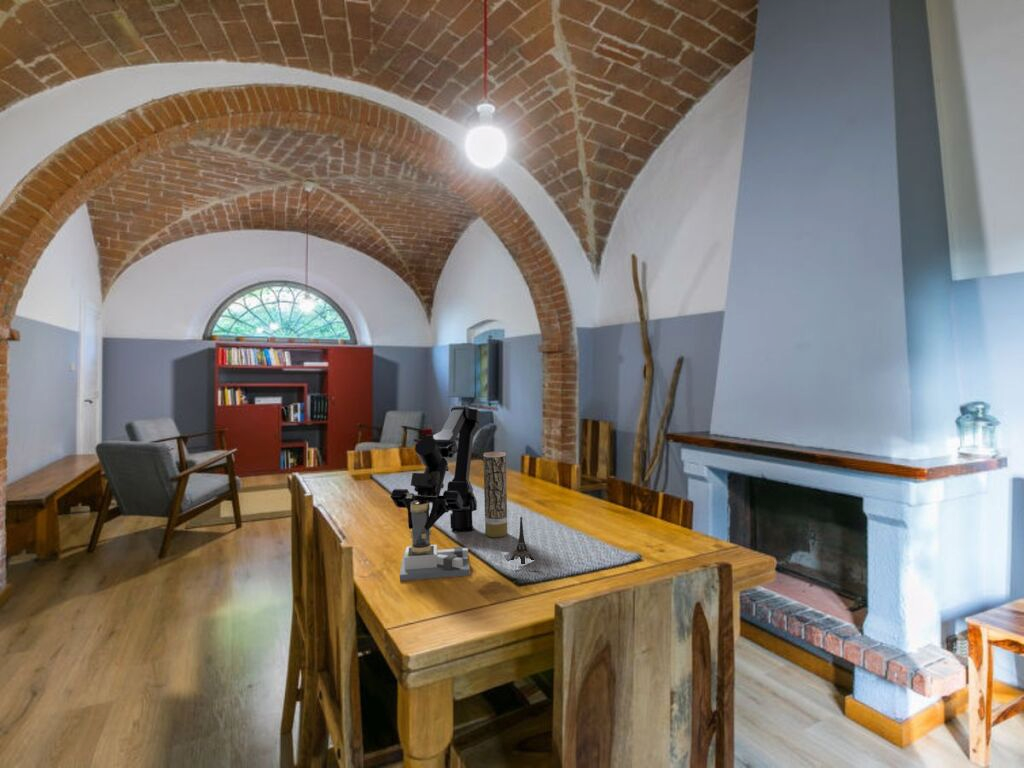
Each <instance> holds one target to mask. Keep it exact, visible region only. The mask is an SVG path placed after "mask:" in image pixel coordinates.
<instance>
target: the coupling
mask: <svg viewBox="0 0 1024 768" xmlns="http://www.w3.org/2000/svg"><path fill="white" fill-rule="evenodd" d="M410 506H411V513H412V529H411V531H410V532H409V534H410V535H409V537H410V538H411V542H412V544H411V546H412V554H413V555H415V556H420V555H428V554H430V553H431V545H432V544H431V542H430V539H431V537H430V535H432V529H431V528H430V529H429V530H427V529H426V526H427V521H428V518H429V515H430V511H431V510H430V509H431V508H430V507H431V506H430V503H429V501H427V500H417V501H413V502H411V503H410Z"/></svg>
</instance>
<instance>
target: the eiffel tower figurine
mask: <svg viewBox="0 0 1024 768" xmlns="http://www.w3.org/2000/svg"><path fill="white" fill-rule="evenodd" d="M523 520H524V519H523V517H522V516H519V533H518V534H519V536H518V541H517V546H516V549H515V550H514V552H513V555H512V556H511V557H510V559H509V560H514V559H515V558H517V557H520V559H521V564H525V557H526V558H527V557H528V558H530V559H531V560H536V559H535V558H534V556H533V555H532V554H531V552H530V550H529V549H528V547H527V545H526V541H525V536H524V525H523Z"/></svg>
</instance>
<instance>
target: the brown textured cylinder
mask: <svg viewBox="0 0 1024 768" xmlns="http://www.w3.org/2000/svg"><path fill="white" fill-rule="evenodd" d="M483 482H484V483H483V488H484V489H483V490H484V491H483V492H484V497H483V498H484V526H485V527H484V529H485V532H484V533H485V534H486V537H489V538H502V537H505V536H506V535H507V534H508V493H507V492H508V491H507V490H508V489H507V488H508V486H507V454H506V452H504V451H502V452H501V451H487V452H484V453H483Z"/></svg>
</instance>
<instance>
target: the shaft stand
mask: <svg viewBox="0 0 1024 768" xmlns="http://www.w3.org/2000/svg"><path fill="white" fill-rule="evenodd" d="M469 562H470V561H469V549H468V547H463V546H453V548H449V549H448V548H447V549H438V544H431V553H430V554H428V555H420V556H415V555H413V554H412V545H411V546H406V548H405V553H403V554H402V560H401V566H400V570H399V571H400V572H399V582H404V581H417V580H419V581H420V580H429V579H442V578H452V577H453V578H454V577H455V578H456V577H465V576H467V577H468V576H471V570H470V569H471V568H470V563H469Z"/></svg>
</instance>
